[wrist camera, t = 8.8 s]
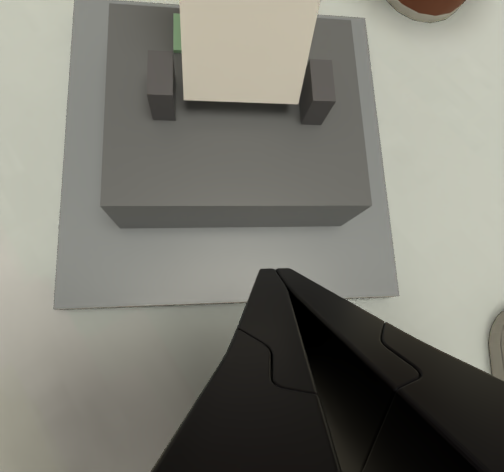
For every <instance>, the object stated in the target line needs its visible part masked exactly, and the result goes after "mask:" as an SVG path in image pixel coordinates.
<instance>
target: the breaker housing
mask: <svg viewBox="0 0 504 472" xmlns="http://www.w3.org/2000/svg"><path fill="white" fill-rule="evenodd" d="M266 268H273V269H277V268H291V269H292V270H294V271H296V272H298V273H299V274H301V275H303V276H305V277H307V278H308V279H310V280H312V281H314V282H315V283H317V284H319V285H321V286H323V287H324V288H326V289H328V290H330V291H331V292H333V293H335V294H337V295H338V296H340V297H342V298H344V299H350V298H376V297H394V296H399V289H398V281H397V273H396V265H395V257H394V249H393V241H392V233H391V225H390V216H389V208H388V200H387V192H386V184H385V176H384V168H383V160H382V152H381V144H380V136H379V128H378V120H377V111H376V103H375V95H374V87H373V79H372V71H371V63H370V55H369V47H368V39H367V31H366V23H365V18H358V17H344V16H330V15H317V19H316V24H315V28H314V33H313V38H312V42H311V47H310V52H309V56H308V61H307V66H306V70H305V75H304V80H303V85H302V89H301V94H300V99H299V103H298V104H275V103H247V102H220V101H193V100H184V95H183V72H182V50H181V27H180V5H176V4H162V3H148V2H134V1H119V0H74V11H73V26H72V41H71V56H70V70H69V85H68V100H67V115H66V130H65V145H64V160H63V174H62V189H61V204H60V219H59V234H58V249H57V264H56V278H55V293H54V308H53V309H60V310H63V309H89V308H115V307H141V306H167V305H193V304H220V303H246V302H247V301H248V298H249V295H250V293H251V290H252V288H253V285H254V282H255V280H256V277H257V275H258V272H259V270H260V269H266Z"/></svg>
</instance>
